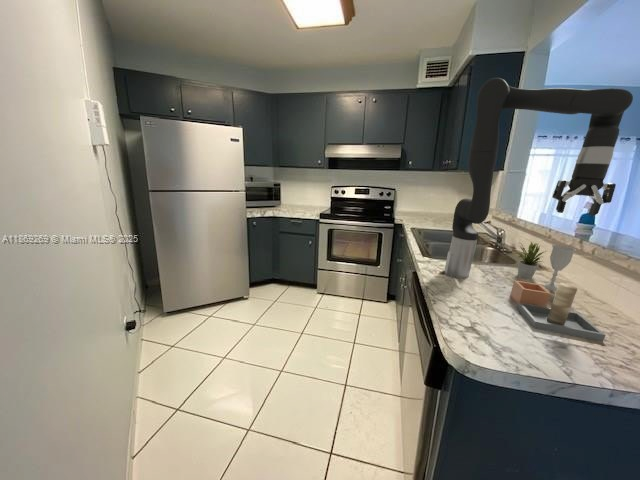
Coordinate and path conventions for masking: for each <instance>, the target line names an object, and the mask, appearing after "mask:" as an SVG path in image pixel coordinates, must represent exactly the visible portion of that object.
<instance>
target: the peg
mask: <svg viewBox="0 0 640 480" xmlns="http://www.w3.org/2000/svg"><path fill="white" fill-rule="evenodd" d="M577 292H578V288H577V287H576V286H574V285H571V284H567V283H563V282H562V283H558V285H557V291H555V293H554V297H553V300H552V302H551V305H550V308H551V309H550V312H549V314H548V317H547V321H548V322H549V323H552V324H557V325H562V326H564V325H565V322H566V319H567V317H568V314H569V311H570V310H571V308H572V305H573V303H574V300H575V297H576V295H577V294H576V293H577Z"/></svg>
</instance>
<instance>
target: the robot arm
mask: <svg viewBox="0 0 640 480" xmlns="http://www.w3.org/2000/svg"><path fill="white" fill-rule="evenodd" d="M476 98H477V99H476V113H475V114H476V115H475V116H476V118H475V125H474V128H473V129H474V130H473V132H472V133H473V134H472V138H471V142H470V148H469V152H468V157H467V170H468V174H469V177H470V179H471V182H472V187H473V188H472V189H473V191H472V198H462V199H461V200H459V201H458V202H457V204H456V206H455V208H454V212H453V213H454V214H453V218H452V219H453V220H452V226H451V229H452V237H451V244H450V247H449V250H448V251H447V257H446V260H445V266H444V270H443V271H444V274H445V276H446V277H451V278H453V279H458V278H463V279H466V278H469V277H470V275H471V274H470V273H471V272H470V271H471V269H472V264H473V261H474V256H475V252H476V246H477V242H478V240H479V239H478V238H479V232H478V231H477V230H476V229H475V228H474V226H473V224H475V225H479V224H482V223H483V222H485V221H486V219H487V218H488V216H489V213H490V209H491V208H490V207H491V195H492V183H493V178H494V172H495V167H496V163H497V159H498V152H499V143H500V128H499V127H500V119H501V114H502V110H524V111H525V110H527V111H533V112H534V111H535V112H544V113H551V114H552V113H553V114H561V115H577V114H587V115H591V116H590V120H589V125H588V130H587V132H586V134H585V137H584V140H583V142H582V146H581V148H580V151H579V153H578V156H577V158H576V160H575V164H574V168H573V171H572V174H571V179H570V181H569V180H568V181H566V180H564V179H563V180H561V179H559V180H558V181H557V183H556V186H555V189H554V191H553V193H552V196H551V198H552V199H555V200H557V204H556V208H555V210H556V212H557V213H559V214H563V213H564V211H565V208H566V204H567V200H569V199H570V198H572V197H574V196H585V197H586V196H587V197H589V198H590V199H591V200H592V202H593V203H592V204H591V205H590V208H589V212H588V216H592V217H596V215H598V213H599V212H600V210H601V209H600V208H601V206H602V205H603V204H609V203H611V202H612V201H613V197H614V193H615V189H616V185H617V184H616V183H614V182H613V183H612V182H607V183H604V180H605V179H606V176H607V174H608V170H609V168H610V166H611V165H610V164H611V162H612V158H613V156H614V149H615V146H616V144H617V140H618V137H619V134H620V128H619V127H620V124H621V122H622V119H623V116H624V113H625V111H626V110H627V109H628V108H629V107H630V106H632V103H633V99H634V95H633V93H632V92H630V91H629V90H627V89H624V88H594V89H584V88H583V89H581V88H567V87H565V88H564V87H549V88H539V89H536V88H535V89H527V88H519V87H513V86H511V85H509V84H508V83H507V81H506V80H505V79H504V78H503V79H502V78H500V77H492V78H490V79H488V80H487V81H485V82H484V83H483V84H482V86H481V87H480V89H479V90H478V92H477V97H476ZM567 186H568V187H569V189H568V190H566V191H565V192H564V190H565V188H567ZM601 189H602V190H603V192H602V194H601V193H600V191H599V190H601Z"/></svg>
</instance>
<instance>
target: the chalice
mask: <svg viewBox="0 0 640 480" xmlns="http://www.w3.org/2000/svg"><path fill="white" fill-rule="evenodd" d="M576 251H577V249H576V248H573V247H570V246H566V245H562V244H561V245H560V244H552V250H551V252H550V256H549V260H550V265H551V269H553V270H554V272H553V273H552V277H551V278H550V282H549V283H546V284H545V285H543V288H545V289H546V290H548V291H549V290H550V291H554V292H556V291H557V288H558V285H555V282H556V281H557V276H558V272H559V271H562V270H563V269H565V268H566V267H567V266H569V264H570V263H571V261H572V258H573V255H574V253H575V252H576Z"/></svg>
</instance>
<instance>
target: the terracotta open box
mask: <svg viewBox="0 0 640 480" xmlns="http://www.w3.org/2000/svg"><path fill="white" fill-rule="evenodd" d="M550 296H551V292H549V290H548V289H547V288H545V287H544V286H543V285H541V284H540V283H533V282H529V281H528V282H527V281H521V280H515V279H514V280H513V285H512V288H511V291H510V293H509V297H511V299H513V301H514V302H515V303H516V305H518V302H520V303H526V304H531V305H537V306H543V307H547V306H548V302H549V300H550V298H551V297H550Z"/></svg>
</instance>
